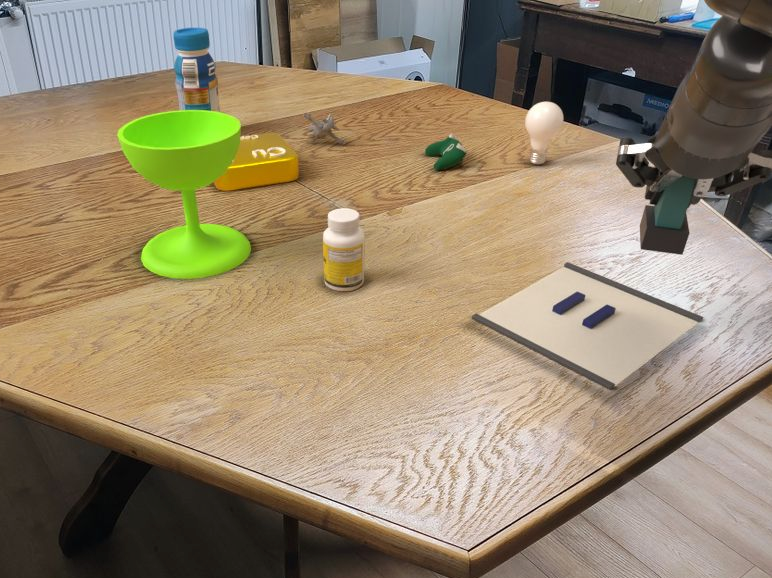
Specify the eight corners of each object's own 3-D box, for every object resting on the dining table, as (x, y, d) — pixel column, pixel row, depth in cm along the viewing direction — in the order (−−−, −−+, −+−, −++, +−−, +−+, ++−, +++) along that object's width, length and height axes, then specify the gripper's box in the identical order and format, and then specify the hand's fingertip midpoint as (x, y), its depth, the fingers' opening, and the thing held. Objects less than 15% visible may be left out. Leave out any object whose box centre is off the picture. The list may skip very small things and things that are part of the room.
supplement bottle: (332, 269, 94) (331, 203, 88) (369, 276, 92) (371, 208, 87) (317, 288, 90) (316, 220, 84) (356, 295, 88) (357, 226, 83)
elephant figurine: (340, 133, 141) (356, 130, 132) (325, 158, 141) (340, 156, 133) (301, 104, 137) (316, 98, 129) (286, 129, 137) (299, 126, 129)
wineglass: (273, 249, 99) (266, 125, 89) (185, 291, 90) (165, 159, 80) (205, 218, 109) (191, 103, 98) (119, 253, 100) (93, 130, 89)
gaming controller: (446, 181, 123) (472, 157, 121) (433, 167, 121) (459, 142, 119) (435, 162, 130) (459, 140, 128) (422, 149, 129) (446, 126, 126)
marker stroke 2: (605, 309, 82) (606, 303, 81) (614, 313, 81) (616, 307, 81) (581, 325, 79) (583, 319, 79) (590, 329, 79) (592, 323, 78)
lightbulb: (553, 159, 125) (565, 97, 119) (555, 172, 120) (568, 108, 114) (518, 157, 127) (527, 96, 120) (518, 169, 122) (528, 106, 115)
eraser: (682, 255, 70) (707, 180, 66) (640, 249, 71) (661, 176, 67) (679, 230, 75) (701, 159, 70) (639, 225, 76) (659, 155, 71)
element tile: (278, 153, 132) (277, 128, 129) (302, 180, 120) (301, 154, 118) (202, 163, 128) (199, 138, 126) (218, 193, 117) (215, 166, 114)
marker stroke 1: (575, 296, 84) (577, 291, 84) (584, 300, 84) (585, 294, 83) (551, 311, 82) (553, 305, 81) (560, 315, 81) (561, 309, 81)
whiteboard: (565, 272, 92) (567, 261, 91) (699, 328, 80) (703, 316, 79) (470, 326, 82) (471, 315, 81) (607, 399, 70) (611, 387, 69)
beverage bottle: (174, 134, 143) (159, 31, 131) (207, 125, 147) (196, 24, 135) (197, 144, 137) (184, 37, 126) (231, 134, 142) (221, 29, 130)
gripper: (823, 78, 54) (749, 172, 71) (635, 67, 59) (605, 158, 75) (810, 166, 53) (737, 240, 70) (619, 148, 58) (593, 222, 74)
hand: (669, 197), depth 72 cm, fingers closed on eraser, 2 cm apart
